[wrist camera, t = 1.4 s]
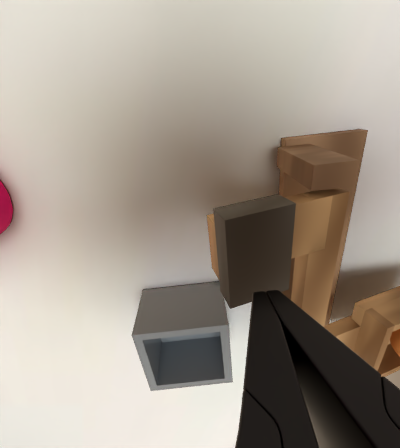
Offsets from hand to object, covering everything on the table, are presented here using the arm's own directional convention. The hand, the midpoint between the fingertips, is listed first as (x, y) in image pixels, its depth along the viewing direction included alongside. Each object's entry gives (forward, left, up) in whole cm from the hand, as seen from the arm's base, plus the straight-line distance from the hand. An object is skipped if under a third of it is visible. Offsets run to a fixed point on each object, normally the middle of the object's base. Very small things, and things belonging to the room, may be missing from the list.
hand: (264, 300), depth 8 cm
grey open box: (+4, +11, -10) cm, 15 cm away
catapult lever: (-6, +6, -6) cm, 11 cm away
